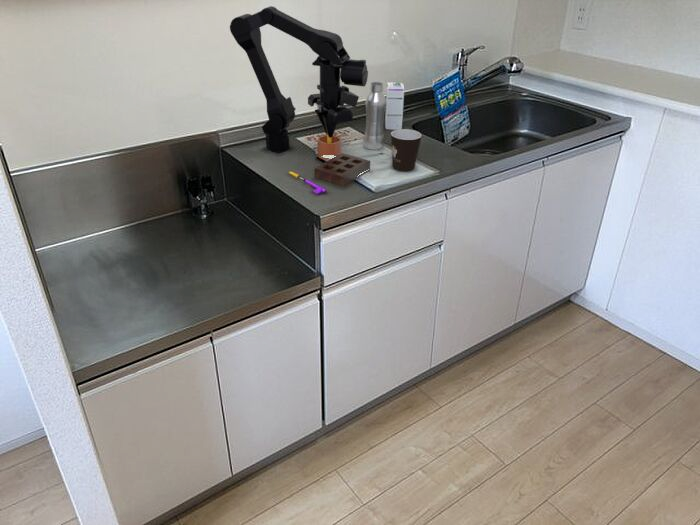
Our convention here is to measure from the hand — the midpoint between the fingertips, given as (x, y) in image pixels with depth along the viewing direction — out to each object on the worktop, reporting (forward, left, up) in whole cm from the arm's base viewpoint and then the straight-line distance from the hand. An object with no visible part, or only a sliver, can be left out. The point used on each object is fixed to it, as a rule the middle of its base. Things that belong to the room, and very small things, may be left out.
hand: (329, 136), depth 165 cm
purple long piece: (+6, -20, -7) cm, 22 cm away
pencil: (0, 0, -6) cm, 6 cm away
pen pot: (0, 0, -6) cm, 6 cm away
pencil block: (+11, -9, -6) cm, 16 cm away
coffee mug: (+21, +8, -7) cm, 24 cm away
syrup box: (+2, +35, -7) cm, 36 cm away
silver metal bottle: (+7, +14, -7) cm, 17 cm away
